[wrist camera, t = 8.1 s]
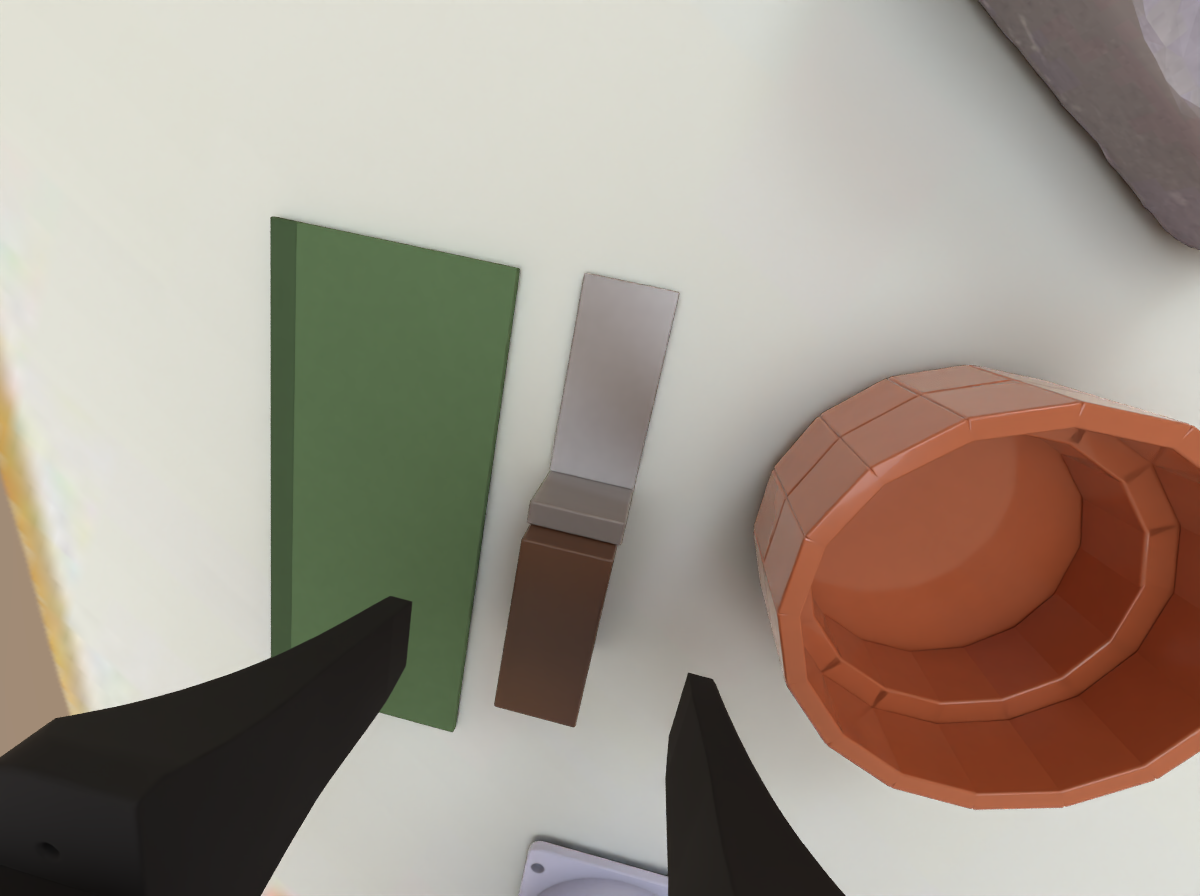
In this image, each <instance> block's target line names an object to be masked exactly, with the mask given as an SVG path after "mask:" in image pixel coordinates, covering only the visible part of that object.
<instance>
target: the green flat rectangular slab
mask: <svg viewBox="0 0 1200 896" xmlns="http://www.w3.org/2000/svg"><path fill="white" fill-rule="evenodd" d="M519 273H520V269H519V268H516V267H511V266H506V265H502V264H497V263H492V262H487V261H483V260H478V259H473V258H468V257H464V256H459V255H454V254H449V253H445V252H440V251H435V250H430V249H426V248H421V247H416V246H412V245H407V244H402V243H397V242H393V241H388V240H383V239H378V238H374V237H369V236H364V235H359V234H355V233H350V232H345V231H340V230H336V229H331V228H326V227H321V226H317V225H312V224H307V223H302V222H298V221H293V220H288V219H284V218H279V217H271V658H272V657H274V656H276V655H278V654H281V653H283V652H285V651H287V650H289V649H291V648H293V647H295V646H297V645H299V644H301V643H303V642H305V641H307V640H309V639H311V638H314V637H316V636H318V635H320V634H322V633H323V632H325V631H327V630H329V629H331V628H333V627H335V626H336V625H338V624H340V623H342V622H344V621H346V620H347V619H349V618H351V617H353V616H355V615H356V614H358V613H360V612H362V611H363V610H365V609H367V608H369V607H371V606H372V605H374V604H376V603H378V602H379V601H381V600H383V599H385V598H387V597H389V596H393V597H397V598H401V599H405V600H409V601H413V602H412V612H411V622H410V632H409V642H408V652H407V662H406V667H405V669H404V671H403V672H402V674H401V676H400V678H399V680H398V682H397V684H396V685H395V687H394V689H393V691H392V692H391V694H390V696H389V698H388V699H387V701H386V703H385V704H384V706H383V707H382V708H381V710H380V711H379V712H380V713H384V714H387V715H391V716H395V717H398V718H402V719H406V720H409V721H413V722H417V723H420V724H424V725H428V726H431V727H435V728H439V729H442V730H446V731H450V732H453V731H454V729H455V727H456V721H457V714H458V707H459V700H460V692H461V685H462V678H463V671H464V664H465V657H466V650H467V643H468V636H469V628H470V621H471V614H472V607H473V600H474V593H475V586H476V579H477V571H478V564H479V557H480V550H481V543H482V536H483V529H484V522H485V515H486V507H487V500H488V493H489V486H490V479H491V472H492V465H493V458H494V450H495V443H496V436H497V429H498V422H499V415H500V408H501V401H502V394H503V386H504V379H505V372H506V365H507V358H508V351H509V344H510V337H511V329H512V322H513V315H514V308H515V301H516V294H517V287H518V280H519Z"/></svg>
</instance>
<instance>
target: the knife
mask: <svg viewBox="0 0 1200 896" xmlns="http://www.w3.org/2000/svg"><path fill="white" fill-rule="evenodd" d="M678 297H679V292H676V291H672V290H667V289H662V288H657V287H652V286H648V285H643V284H638V283H633V282H628V281H624V280H619V279H614V278H609V277H605V276H600V275H595V274H590V273H585V274H584V278H583V284H582V290H581V295H580V301H579V307H578V312H577V318H576V324H575V329H574V335H573V340H572V346H571V352H570V357H569V363H568V369H567V374H566V380H565V386H564V391H563V397H562V403H561V408H560V414H559V420H558V425H557V431H556V437H555V442H554V448H553V454H552V459H551V465H550V472H549V473H548V475H547V477H546V478H545V480H544V481H543V483H542V484H541V486H540V487H539V489H538V490H537V492H536V493H535V495H534V497H533V498H532V500H531V501H530V505H529V511H528V517H527V523H529V524H530V526H529V528H528V530H527V531H526V533H525V535H524V536H523V538H522V540H521V546H520V552H519V558H518V564H517V570H516V576H515V582H514V588H513V594H512V600H511V606H510V612H509V618H508V624H507V630H506V636H505V642H504V648H503V654H502V660H501V666H500V672H499V678H498V684H497V690H496V696H495V702H494V705H495V706H496V707H499V708H503V709H507V710H511V711H514V712H518V713H522V714H525V715H529V716H533V717H537V718H540V719H544V720H548V721H552V722H555V723H559V724H563V725H567V726H570V727H575V726H576V722H577V718H578V713H579V709H580V705H581V700H582V696H583V692H584V687H585V683H586V679H587V674H588V670H589V666H590V661H591V657H592V653H593V648H594V644H595V640H596V635H597V631H598V627H599V622H600V618H601V614H602V609H603V605H604V601H605V597H606V592H607V588H608V584H609V579H610V575H611V571H612V566H613V562H614V558H615V553H616V549H617V545H621V543H622V540H623V536H624V531H625V527H626V523H627V518H628V513H629V509H630V504H631V499H632V495H633V489H634V486H635V482H636V477H637V473H638V469H639V464H640V460H641V456H642V452H643V447H644V443H645V439H646V434H647V430H648V426H649V422H650V417H651V413H652V409H653V404H654V400H655V396H656V392H657V387H658V383H659V379H660V375H661V370H662V366H663V362H664V357H665V353H666V349H667V345H668V340H669V336H670V332H671V327H672V323H673V319H674V315H675V310H676V306H677V302H678Z"/></svg>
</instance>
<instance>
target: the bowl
mask: <svg viewBox="0 0 1200 896" xmlns="http://www.w3.org/2000/svg"><path fill="white" fill-rule="evenodd" d="M753 533H754V541H755V548H756V556H757V563H758V571H759V578H760V585H761V589H762V593H763V597H764V601H765V605H766V608H767V612H768V616H769V620H770V624H771V628H772V632H773V636H774V640H775V644H776V648H777V652H778V656H779V660H780V664H781V668H782V672H783V675H784V679H785V682H786V685H787V687H788V689H789V690H790V692H791V693H792V695H793V696H794V698H795V699H796V701H797V702H798V704H799V705H800V707H801V708H802V710H803V711H804V713H805V714H806V716H807V717H808V719H809V720H810V722H811V723H812V725H813V726H814V728H815V729H816V731H817V732H818V734H819V735H820V737H821V738H822V740H823V741H824V743H825V744H827V745H828V747H830V748H832V749H833V750H835V751H836V752H838V753H839V754H841V755H842V756H844V757H845V758H847V759H848V760H850V761H851V762H853V763H854V764H856V765H857V766H859V767H860V768H862V769H863V770H865V771H866V772H868V773H869V774H871V775H872V776H874V777H875V778H877V779H878V780H880V781H881V782H883V783H884V784H886V785H887V786H889V787H892V788H894V789H897V790H901V791H905V792H909V793H912V794H916V795H920V796H924V797H928V798H931V799H935V800H939V801H943V802H946V803H950V804H954V805H958V806H961V807H965V808H969V809H972V808H973V809H974V810H982V809H1028V808H1063V807H1064V806H1065V807H1067V806H1071V805H1074V804H1078V803H1081V802H1084V801H1088V800H1091V799H1094V798H1098V797H1101V796H1104V795H1108V794H1111V793H1114V792H1118V791H1121V790H1124V789H1128V788H1131V787H1134V786H1138V785H1141V784H1144V783H1148V782H1151V781H1154V780H1155V778H1156V779H1158V778H1160V777H1162V776H1163V775H1165V774H1166V773H1168V772H1169V771H1171V770H1172V769H1174V768H1175V767H1177V766H1178V765H1180V764H1182V763H1183V762H1185V761H1186V760H1188V759H1189V758H1191V757H1192V756H1194V755H1195V754H1197V753H1198V752H1200V430H1199V429H1197V428H1196V427H1195V426H1192V425H1189V424H1188V423H1185V422H1181V421H1178V420H1175V419H1172V418H1168V417H1165V416H1162V415H1158V414H1155V413H1152V412H1148V411H1145V410H1142V409H1138V408H1135V407H1132V406H1128V405H1125V404H1122V403H1118V402H1115V401H1112V400H1108V399H1105V398H1100V397H1098V396H1095V395H1092V394H1088V393H1085V392H1082V391H1078V390H1075V389H1072V388H1068V387H1065V386H1062V385H1058V384H1055V383H1052V382H1048V381H1045V380H1041V379H1037V378H1032V377H1027V376H1022V375H1018V374H1013V373H1008V372H1003V371H999V370H994V369H989V368H984V367H980V366H975V365H969V366H968V365H961V366H954V367H948V368H942V369H935V370H929V371H923V372H917V373H910V374H904V375H898V376H892V377H890V378H888V379H883V380H882V381H880V382H878V383H876V384H874V385H872V386H871V387H869V388H867V389H865V390H863V391H861V392H860V393H858V394H856V395H854V396H852V397H851V398H849V399H847V400H845V401H843V402H841V403H840V404H838V405H836V406H834V407H832V408H831V409H829V410H827V411H825V412H823V413H822V414H821V415H820V417H817V418H816V419H815V420H814V421H813V422H812V423H811V425H810V426H809V427H808V428H807V429H806V430H805V432H804V433H803V434H802V435H801V436H800V437H799V439H798V440H797V441H796V442H795V443H794V444H793V446H792V447H791V448H790V449H789V450H788V451H787V453H786V454H785V455H784V456H783V457H782V458H781V460H780V461H779V462H778V463H777V464H776V465H775V467H774V470H773V471H772V472H771V475H770V478H769V481H768V484H767V487H766V490H765V493H764V496H763V500H762V503H761V506H760V509H759V512H758V515H757V518H756V521H755V525H754V532H753Z"/></svg>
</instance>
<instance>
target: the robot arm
mask: <svg viewBox="0 0 1200 896" xmlns="http://www.w3.org/2000/svg"><path fill="white" fill-rule="evenodd" d="M412 602H413V601H409V600H405V599H401V598H397V597H393V596H389V597H387V598H385V599H383V600H381V601H379V602H378V603H376V604H374V605H372V606H371V607H369V608H367V609H365V610H363V611H362V612H360V613H358V614H356V615H355V616H353V617H351V618H349V619H347V620H346V621H344V622H342V623H340V624H338V625H336V626H335V627H333V628H331V629H329V630H327V631H325V632H323V633H322V634H320V635H318V636H316V637H314V638H311V639H309V640H307V641H305V642H303V643H301V644H299V645H297V646H295V647H293V648H291V649H289V650H287V651H285V652H283V653H281V654H278V655H276V656H274V657H272V658H269V659H267V660H265V661H262V662H260V663H257V664H255V665H252V666H250V667H247V668H245V669H242V670H240V671H237V672H234V673H232V674H229V675H226V676H223V677H220V678H217V679H214V680H211V681H208V682H205V683H202V684H199V685H196V686H192V687H189V688H186V689H183V690H180V691H176V692H173V693H169V694H165V695H162V696H158V697H154V698H150V699H146V700H142V701H138V702H134V703H130V704H126V705H122V706H117V707H112V708H107V709H102V710H97V711H92V712H87V713H82V714H77V715H72V716H66V717H60V718H55V719H54V720H52V721H51V722H49V723H48V724H47V725H45V726H44V727H42V728H41V729H39V730H38V731H37V732H35V733H34V734H32V735H31V736H30V737H28V738H27V739H25V740H24V741H23V742H21V743H20V744H18V745H17V746H15V747H14V748H13V749H11V750H10V751H8V752H7V753H6V754H4V755H3V756H1V757H0V896H261V894H262V892H263V891H264V889H265V887H266V885H267V883H268V882H269V880H270V878H271V876H272V875H273V873H274V871H275V869H276V868H277V866H278V864H279V863H280V861H281V859H282V857H283V856H284V854H285V852H286V850H287V849H288V847H289V845H290V843H291V842H292V840H293V838H294V837H295V835H296V833H297V831H298V830H299V828H300V826H301V825H302V823H303V821H304V820H305V818H306V816H307V815H308V813H309V811H310V810H311V808H312V806H313V805H314V803H315V801H316V800H317V798H318V797H319V795H320V794H321V792H322V791H323V789H324V788H325V786H326V785H327V783H328V782H329V780H330V779H331V778H332V776H333V775H334V773H335V772H336V771H337V769H338V768H339V767H340V765H341V764H342V762H343V761H344V760H345V758H346V757H347V756H348V754H349V753H350V751H351V750H352V749H353V747H354V746H355V745H356V743H357V742H358V740H359V739H360V738H361V736H362V735H363V734H364V732H365V731H366V729H367V728H368V727H369V725H370V724H371V722H372V721H373V720H374V718H375V717H376V716H377V714H378V713H379V711H380V710H381V708H382V707H383V706H384V704H385V703H386V701H387V699H388V698H389V696H390V694H391V692H392V691H393V689H394V687H395V685H396V684H397V682H398V680H399V678H400V676H401V674H402V672H403V671H404V669H405V667H406V662H407V652H408V642H409V632H410V622H411V612H412ZM666 820H667V855H668V876H664V875H661V874H657V873H654V872H650V871H647V870H643V869H640V868H636V867H633V866H629V865H626V864H622V863H618V862H615V861H611V860H608V859H604V858H601V857H597V856H594V855H590V854H587V853H583V852H580V851H576V850H573V849H569V848H566V847H562V846H559V845H555V844H551V843H548V842H544V841H535V842H533V843H532V844H531V845H530V847H529V851H528V854H527V859H526V864H525V868H524V873H523V877H522V882H521V887H520V891H519V896H845V894H844V893H843V892H842V891H841V890H840V889H839V888H838V886H837V885H836V884H835V883H834V882H833V881H832V879H831V878H830V877H829V876H828V875H827V873H826V872H825V871H824V870H823V868H822V867H821V866H820V865H819V863H818V862H817V861H816V859H815V858H814V857H813V856H812V854H811V853H810V852H809V850H808V849H807V848H806V847H805V845H804V844H803V843H802V841H801V840H800V839H799V837H798V836H797V834H796V833H795V832H794V830H793V829H792V827H791V826H790V825H789V823H788V822H787V820H786V819H785V817H784V816H783V814H782V813H781V811H780V810H779V808H778V806H777V805H776V803H775V802H774V800H773V798H772V797H771V795H770V793H769V792H768V790H767V788H766V787H765V785H764V783H763V781H762V780H761V778H760V776H759V774H758V773H757V771H756V769H755V767H754V765H753V764H752V762H751V760H750V758H749V756H748V754H747V752H746V750H745V748H744V746H743V744H742V742H741V740H740V738H739V736H738V734H737V732H736V730H735V728H734V726H733V723H732V721H731V719H730V717H729V715H728V712H727V710H726V708H725V705H724V703H723V701H722V698H721V696H720V694H719V691H718V689H717V686H716V684H715V682H714V680H713V679H710V678H707V677H703V676H699V675H695V674H691V673H688V675H687V679H686V682H685V685H684V688H683V692H682V695H681V698H680V702H679V705H678V708H677V711H676V715H675V718H674V721H673V725H672V728H671V731H670V734H669V742H668V753H667V765H666Z"/></svg>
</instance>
